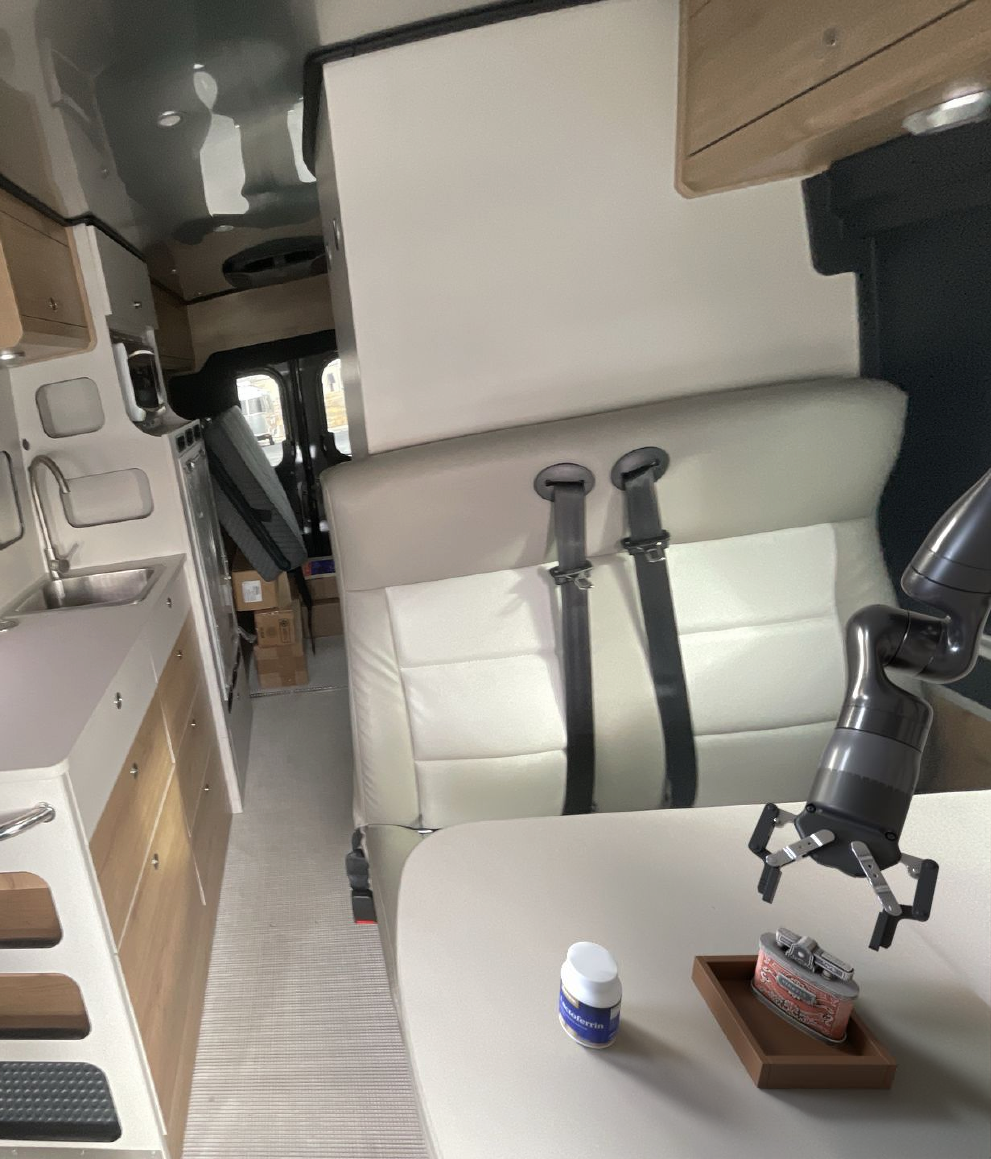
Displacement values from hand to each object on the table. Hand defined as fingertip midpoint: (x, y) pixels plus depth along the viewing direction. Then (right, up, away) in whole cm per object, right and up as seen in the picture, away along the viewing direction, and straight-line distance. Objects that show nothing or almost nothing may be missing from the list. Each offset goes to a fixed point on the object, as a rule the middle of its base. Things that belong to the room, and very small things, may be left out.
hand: (817, 924), depth 69 cm
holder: (-4, -11, 0) cm, 12 cm away
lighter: (-2, -10, +1) cm, 10 cm away
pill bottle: (-22, -13, +3) cm, 26 cm away
